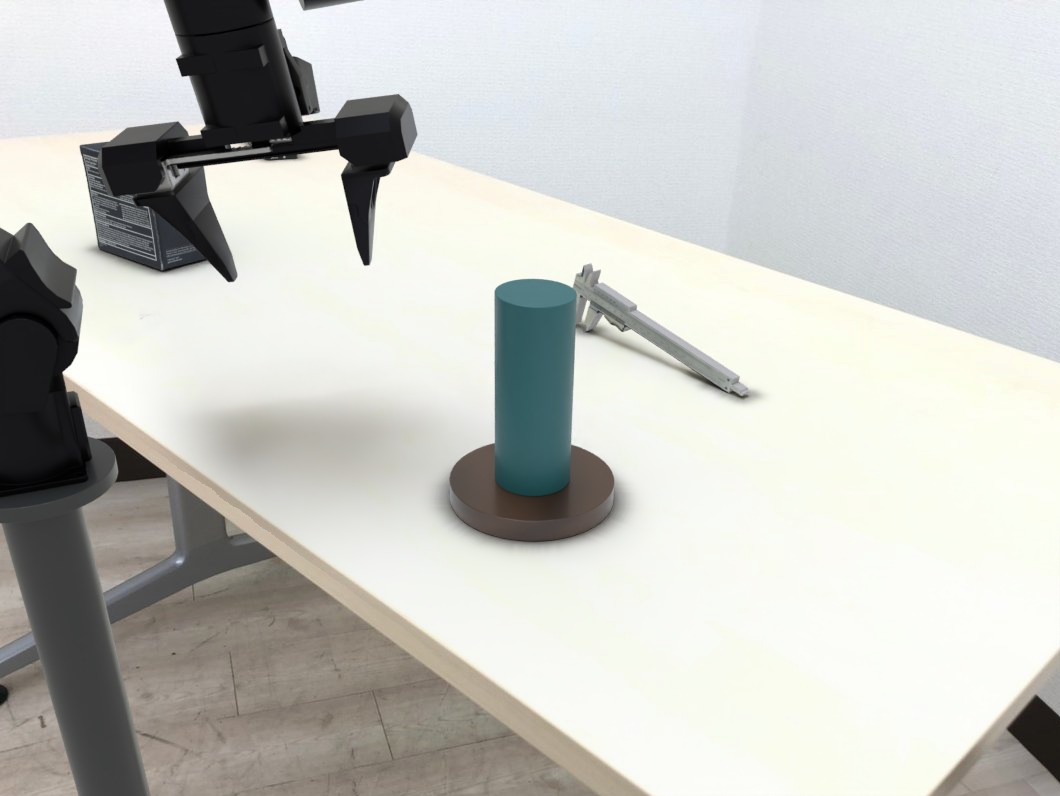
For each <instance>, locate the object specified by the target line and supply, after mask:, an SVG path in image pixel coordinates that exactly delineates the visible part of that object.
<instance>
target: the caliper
mask: <svg viewBox="0 0 1060 796" xmlns="http://www.w3.org/2000/svg"><path fill="white" fill-rule="evenodd" d="M601 273H602V269H597V270H594V266H593V263H591V262H590V263H587V264H583V265H582V270H581V272H578V273H576V274H575V277H574V281H573V284H572V288H573V289H574V290H575V291H576V293H577V309H576V325H578V324H580V323H582V321H583V317H584V313H585V309H586V305H587V302H588V301H589V305H588V307H587V311H586V314H585V320H584V326H583V330H582V331H583V332H584V333H586V332H589V331H592V330H594V329H595V328H597V325H598V324H599V322H600V321H601V319H602V317H604V319H606V321H607V322H608V324H610V325H611V326H614V327H616V328H617V329H618V331H620V332H621V333H624V332H628V331H630V330H632V331H633V332H634V333H636V334H637V335H639V336H641V337H642V338H644V339H645V340H646V341H648V342H650V343H652V344H653V345H655V346H656V347H658V348H659V349H661V350H662V351H664V352H665V353H666V354H668V355H670V356H671V357H673V358H674V359H676V360H677V361H679V362H680V363H681V364H683V365H685V366H686V367H687V368H689V369H691V370H692V371H693V372H695V373H696V374H698V375H700V376H701V377H703V378H704V379H705V380H707V381H708V382H710V383H711V384H713V385H715V386H716V387H717V388H719V389H720V390H722V391H723V392H725V393H726V394H730V393H732V392H734V393H736V394H737V395H738V396H742V397H743V396H745V395H747V394H750V393H751V391H750V389H749V387H748V386H747V385H745V384H744V383H742V382H740V377H741V376H740V375H739V374H737V373H736V372H734V371H733V370H731V369H730V368H728V367H726V366H725V365H724V364H722V363H720V362H719V361H717V360H716V359H714V358H712V357H711V356H709V355H708V354H707V353H705V352H703V351H702V350H700V349H698V348H697V347H696V346H694V345H692V344H691V343H690V342H688V341H686V340H685V339H683V338H681V337H680V336H678V335H677V334H676V333H674V332H673V331H671V330H669V329H667V328H666V327H664V326H663V325H661V324H660V323H658V322H656V320H653V319H652V318H651V317H649V316H648V315H646V314H644V313H643V312H641V311H639V310H638V304H636V303H634V302H633V301H632V300H631V299H629V298H628V297H626V296H624V295H623V294H621V293H619V292H618V291H617V290H615V289H614V288H612V287H611V286H610V285H607V283H605V282H599V280H600V276H601Z"/></svg>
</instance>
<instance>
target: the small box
mask: <svg viewBox="0 0 1060 796" xmlns="http://www.w3.org/2000/svg"><path fill="white" fill-rule="evenodd" d="M108 142H109V141H100V142H92V143H83V144H80V145H79V153H80V156H81V159H82V163H83V164H82V165H83V167H84V168H83V169H84V173H85V178H86V184H87V190H88V194H89V201H90V206H91V212H92V218H93V223H94V228H95V234H96V235H95V236H96V240H97V248H98V249H99V250H102V251H104V252H107V253H110V254H114V255H116V256H119V257H122V258H125V259H128V260H130V261H133V262H137V263H138V264H143V265H145V266H148V267H151V268H153V269H157V270H160V271H164V270H168V269H171V268H175V267H179V266H182V265H186V264H190V263H195V262H198V261H202V260H206V259H205V258H204V257H203V256H202V254H201V253H200V252H199V251H198V250H197V249H196V248H195V247H194V246H193V245H192V244H191V243H190V242H189V241H188V240H187V239H186V238H185V237H184V236H183V235H181V234H180V233H179V232H178V231H177V230H176V229H174V228H173V227H172V226H171V225H170V224H169V223H167V222H166V221H165V220H164V219H163V218H162V217H160V216H159V215H158V214H157V213H156V212H154V211H153V210H152V209H151V208H150V207H147V206H144V207H136V206H135V205H134V203H133V201H132V197H133V196H135V195H136V194H131V195H123V196H114V197H113V196H111V195H108V193H107V191H106V188H105V186H104V183H103V181H102V178H101V176H100V173H99V171H98V155H99V153H100V150H101V148H102V147H103V146H104V145H106V144H107V143H108Z"/></svg>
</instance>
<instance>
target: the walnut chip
mask: <svg viewBox="0 0 1060 796" xmlns="http://www.w3.org/2000/svg"><path fill="white" fill-rule="evenodd" d="M448 479H449V480H448V481H449V502H450V503H449V504H450V505H451V508H452V510H453V511H454V513H455V515H457V517H458V518H459V519H460V520H461V521H463V522H464V523H465V524H466V525H468V526H470V527H472V529H475V530H477V531H479V532H481V533H483V534H487V535H490V536H493V537H497V538H501V539H505V540H506V539H507V540H512V541H522V542H545V541H546V542H547V541H553V540H554V541H555V540H560V539H561V540H562V539H565V538H570V537H574V536H576V535H579V534H583V533H585V532H587V531H589V530H591V529H592V528H595V527H596V526H597V525H599V524H600V523H601V522H603V521H604V520H606V518H607V516H608V515H609V514H610V513H611V510H612V508H613V505H614V499H615V497H614V495H615V475H614V473H613V470H612V469H611V467H610V466H609V465H608V464H607V463H606V461H604V460H603V459H602V458H601V457H600V456H598V455H596V454H595V453H593V452H592V451H589V450H587V449H585V448H583V447H580V446H577V445H574V444H571V461H570V480H569V482H568V484H567V485H566V486H565V487H564V488H563V489H562V490H560V491H558V492H555V493H552V494H549V495H543V496H523V495H518V494H514V493H511V492H508V491H506V490H504V489H503V488H501V487H500V486H499V485H498V484H497V482H496V480H495V442H493V443H489V444H486V445H483V446H480V447H478V448H476V449H473V450H472V451H470V452H468V453H466V454H465V455H463V456H462V457H461V458H459V460H457V462H455V464H454V465H453V467H452V469H451V471H450V473H449V478H448Z"/></svg>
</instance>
